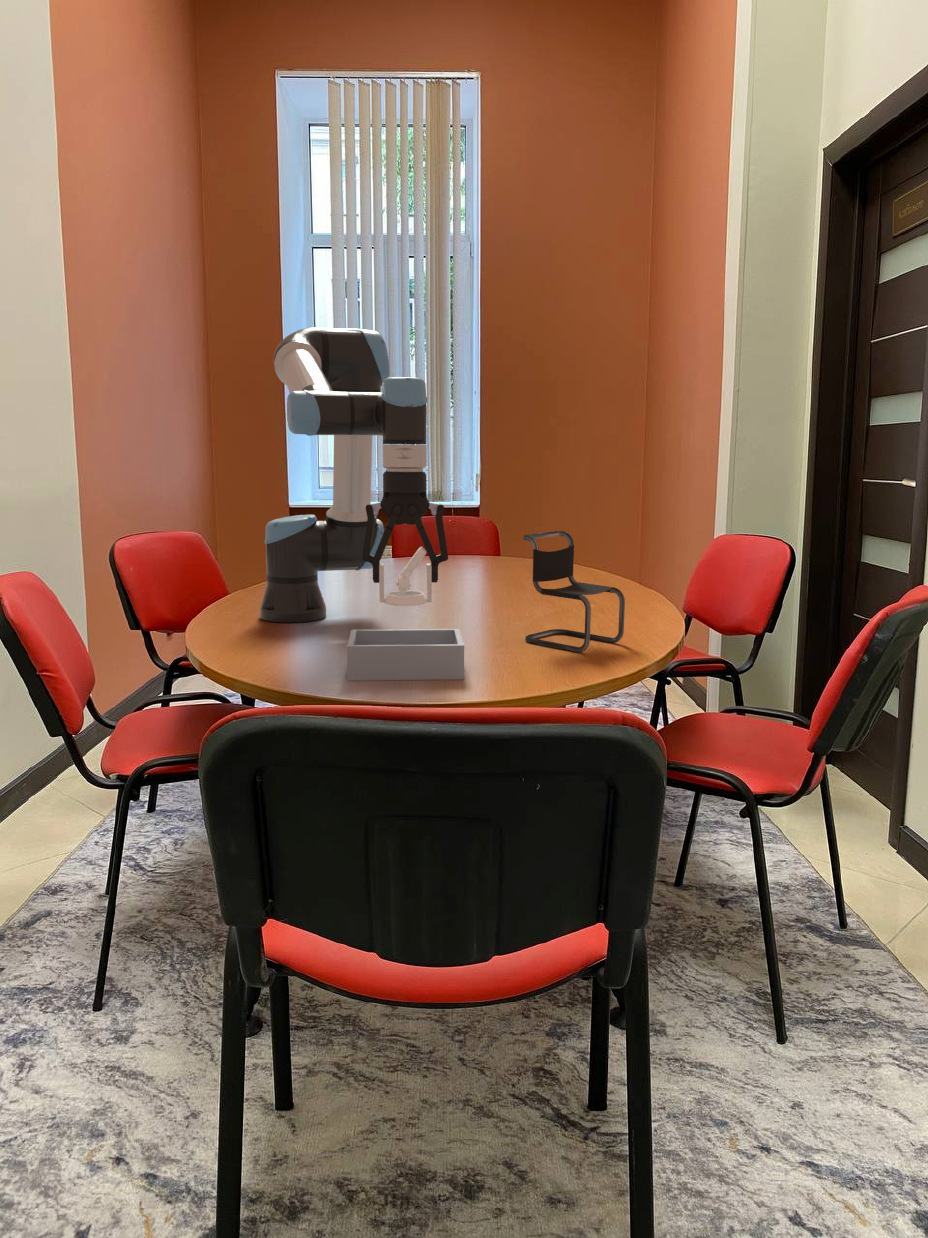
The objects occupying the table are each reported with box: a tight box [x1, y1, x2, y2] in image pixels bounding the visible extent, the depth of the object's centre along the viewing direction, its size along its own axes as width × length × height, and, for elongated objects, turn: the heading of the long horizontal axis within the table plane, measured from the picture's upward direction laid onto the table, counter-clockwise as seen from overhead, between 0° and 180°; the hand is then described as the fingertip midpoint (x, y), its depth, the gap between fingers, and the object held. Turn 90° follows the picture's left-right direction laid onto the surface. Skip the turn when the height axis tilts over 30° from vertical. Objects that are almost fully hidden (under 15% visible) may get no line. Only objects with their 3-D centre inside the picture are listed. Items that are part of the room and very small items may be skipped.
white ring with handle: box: [383, 546, 428, 607], centre depth 159 cm, size 8×12×7 cm
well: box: [346, 628, 465, 682], centre depth 162 cm, size 14×20×6 cm
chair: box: [522, 530, 626, 653], centre depth 184 cm, size 13×17×22 cm
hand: (405, 600), depth 160 cm, fingers closed on white ring with handle, 8 cm apart
